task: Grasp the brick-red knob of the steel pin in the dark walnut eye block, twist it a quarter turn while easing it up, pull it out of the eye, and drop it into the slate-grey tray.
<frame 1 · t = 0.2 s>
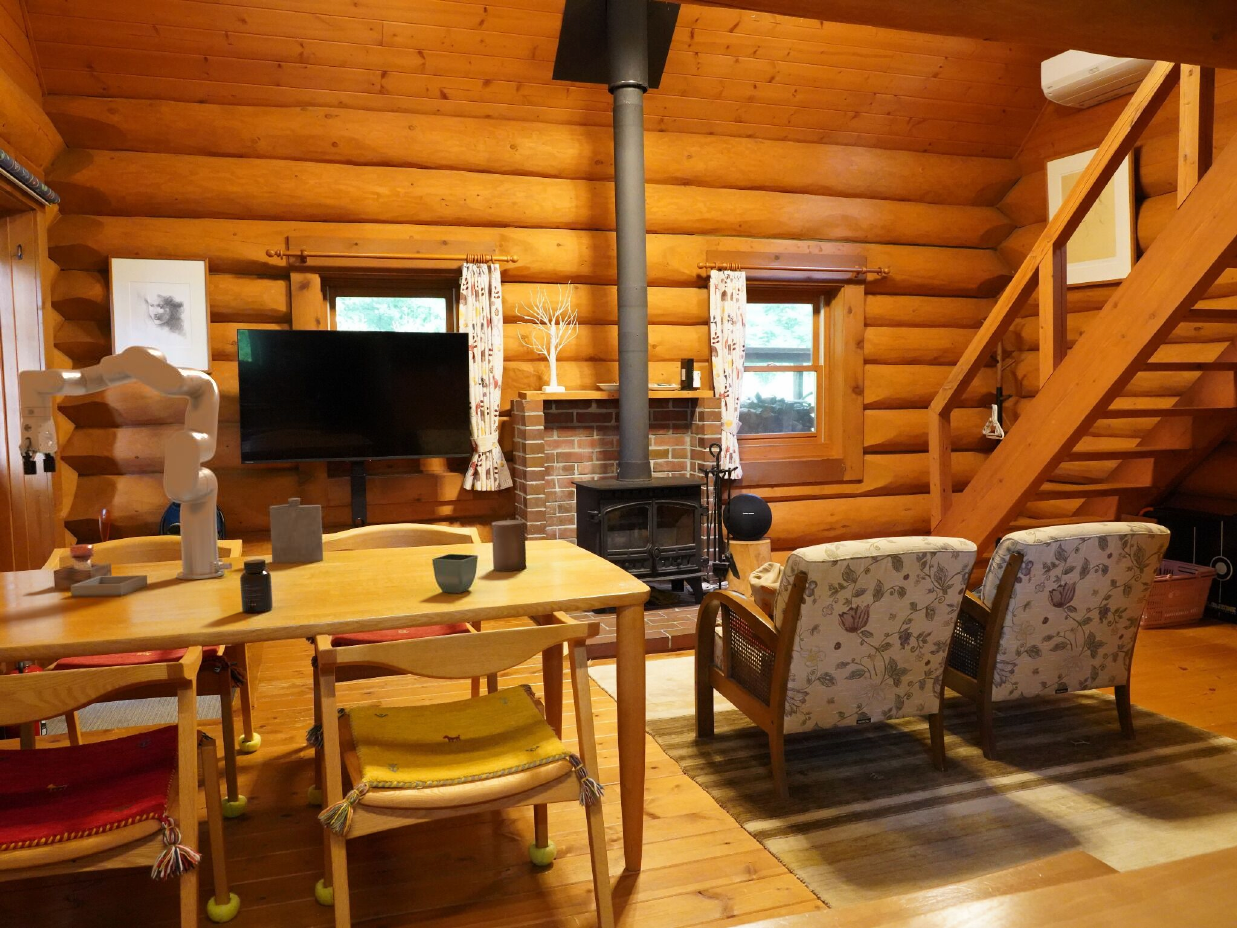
hand: (40, 473, 257), 31 cm above the table, fingers open, 9 cm apart
flower pot: (456, 592, 231), on the table
pin: (82, 565, 249), in the eye block
pillar candle: (509, 569, 262), on the table
tray: (110, 591, 239), on the table
eye block: (83, 584, 249), on the table
hip flask: (297, 562, 281), on the table
supplement bottle: (257, 611, 213), on the table
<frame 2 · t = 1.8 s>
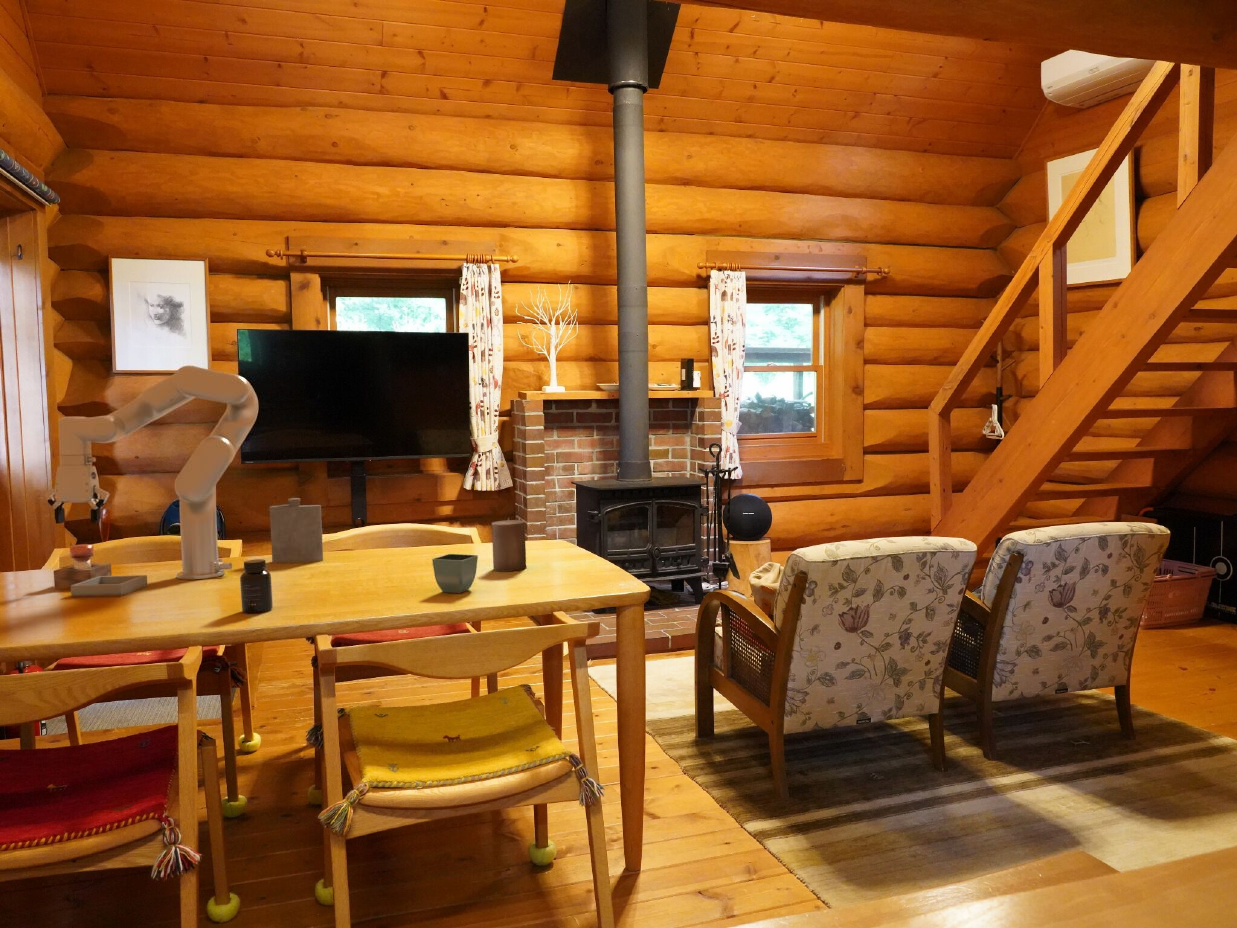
hand: (77, 523, 248), 17 cm above the table, fingers open, 9 cm apart
nothing on the table moved.
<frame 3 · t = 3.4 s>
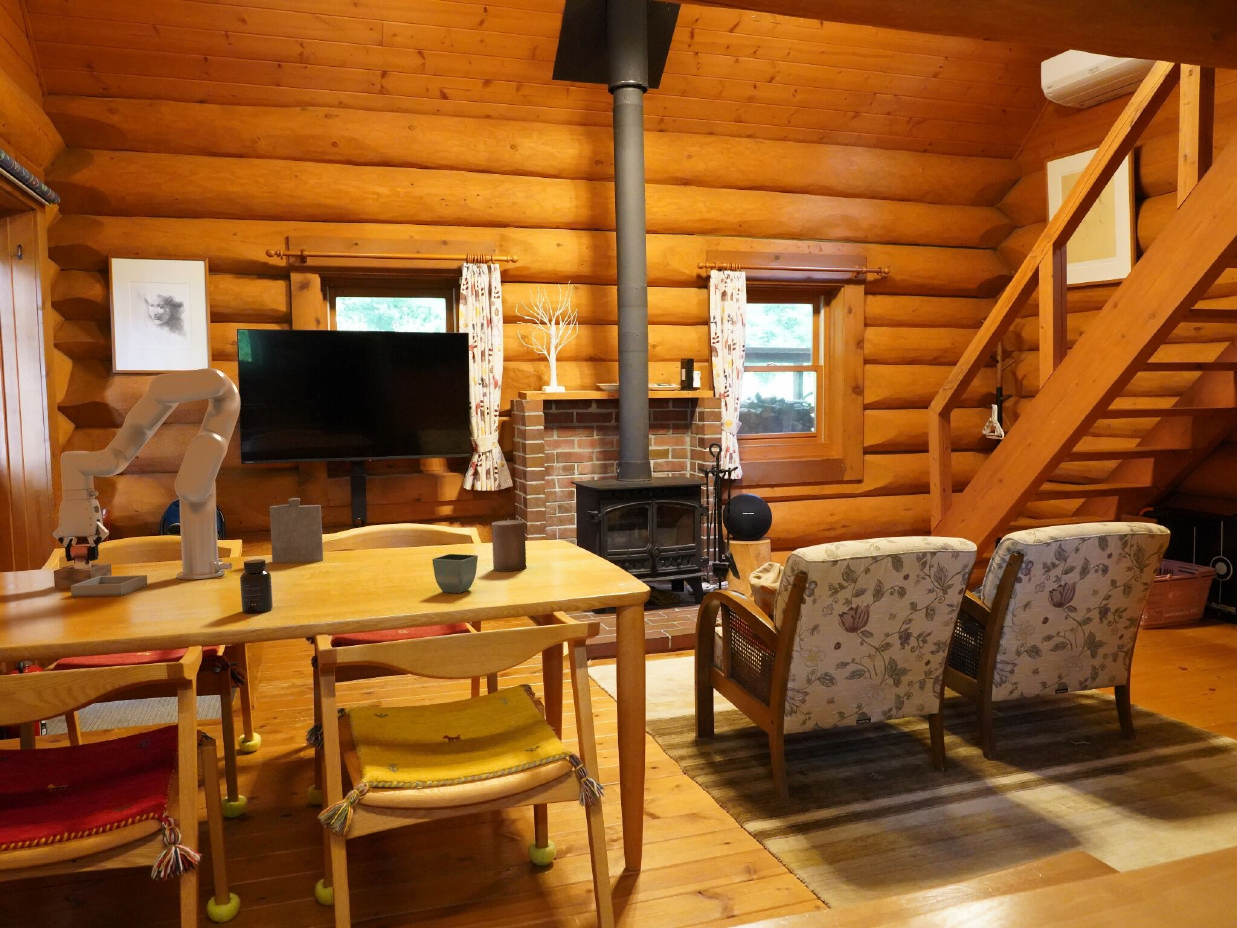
hand: (82, 559, 249), 7 cm above the table, fingers closed on pin, 5 cm apart
pin: (82, 565, 249), in the eye block, touching gripper
everything else where it was.
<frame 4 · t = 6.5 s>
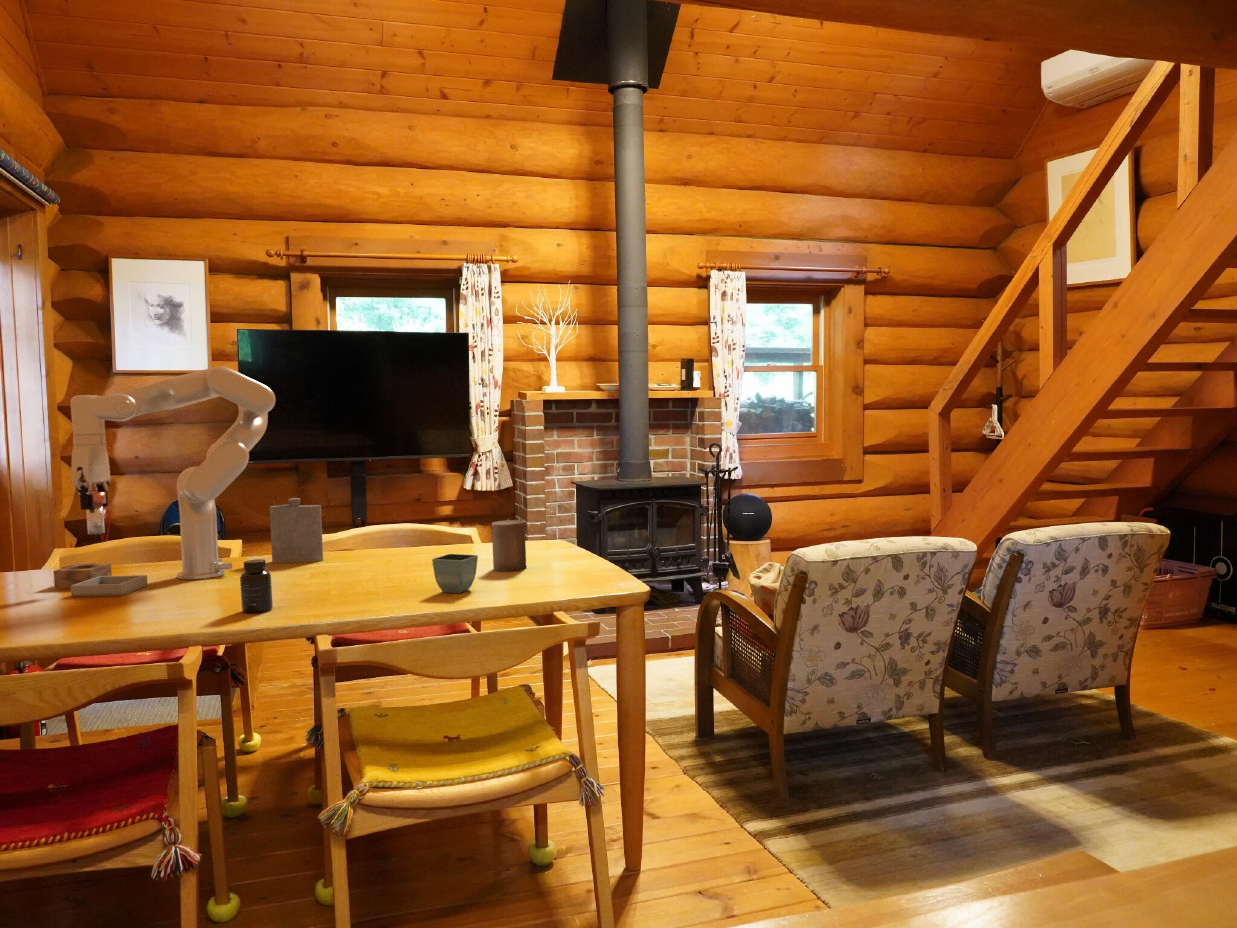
hand: (94, 507, 242), 22 cm above the table, fingers closed on pin, 5 cm apart
pin: (94, 512, 243), point 21 cm above the table, touching gripper
everything else where it was.
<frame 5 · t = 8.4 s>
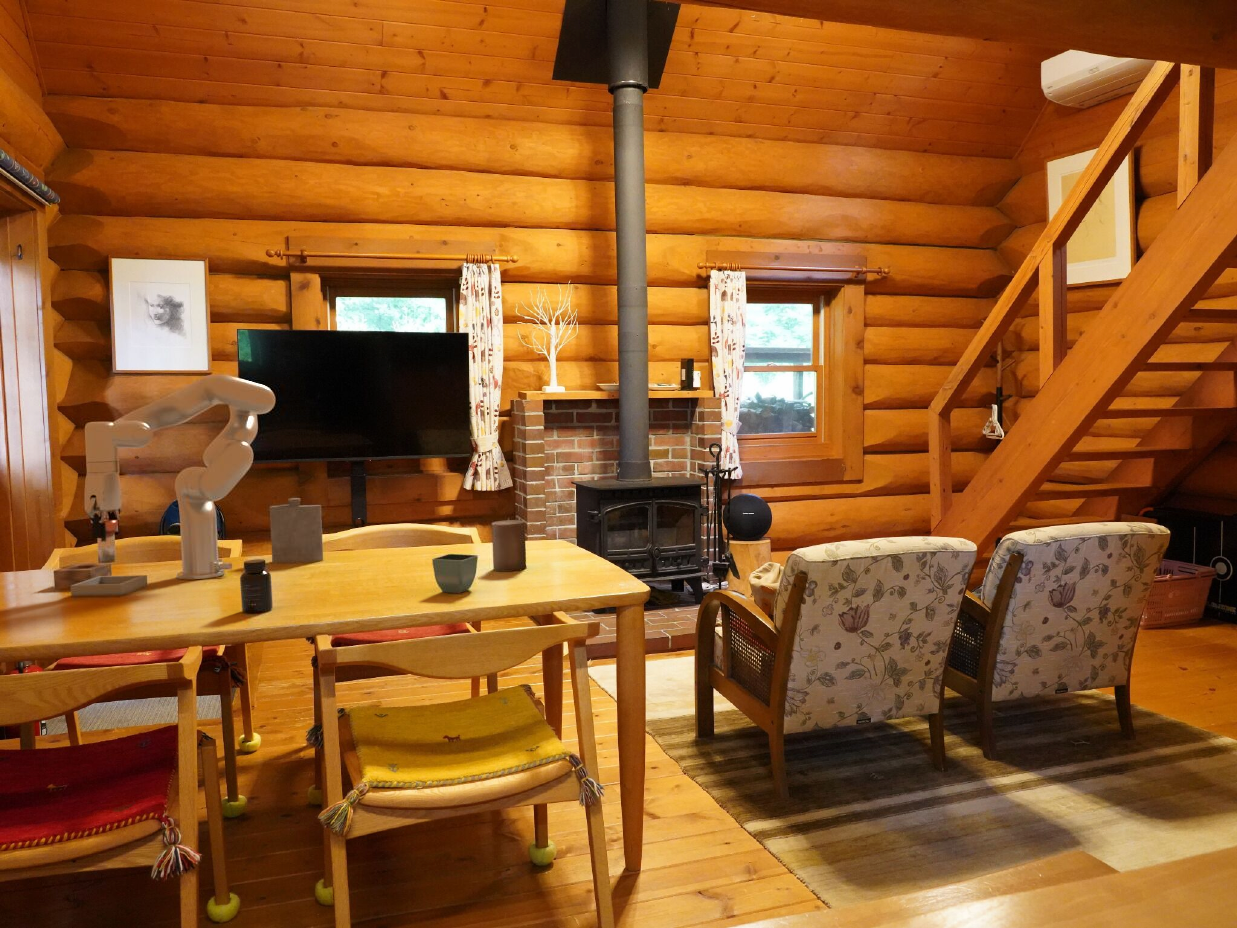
hand: (106, 535, 238), 15 cm above the table, fingers closed on pin, 5 cm apart
pin: (106, 541, 238), point 14 cm above the table, touching gripper
everything else where it was.
when the fingers open (10 cm above the table, at t = 9.7 s): pin drops 3 cm, resting on tray.
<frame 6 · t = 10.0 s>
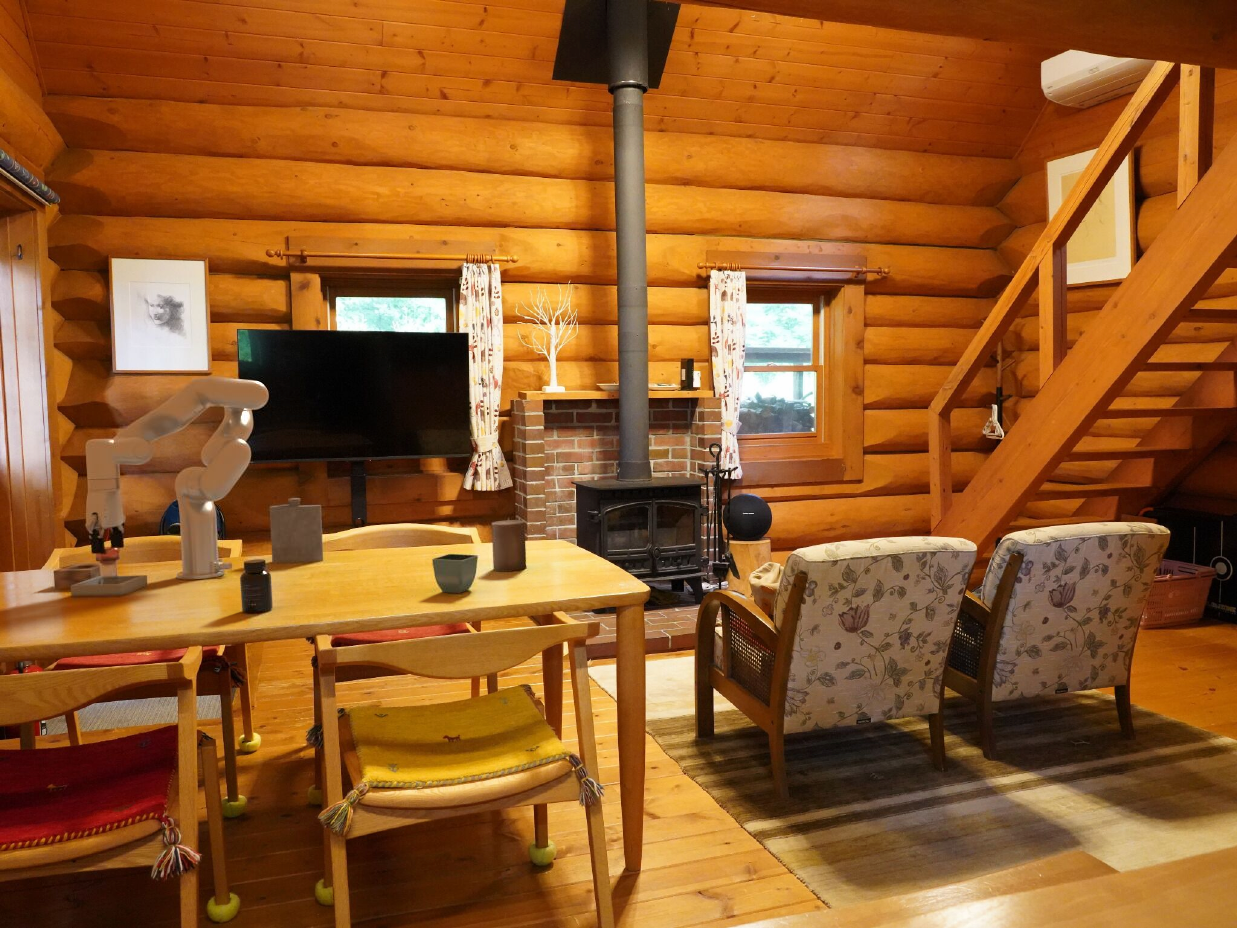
hand: (108, 550, 239), 11 cm above the table, fingers open, 8 cm apart
pin: (108, 568, 239), in the tray, point 6 cm above the table
everything else where it was.
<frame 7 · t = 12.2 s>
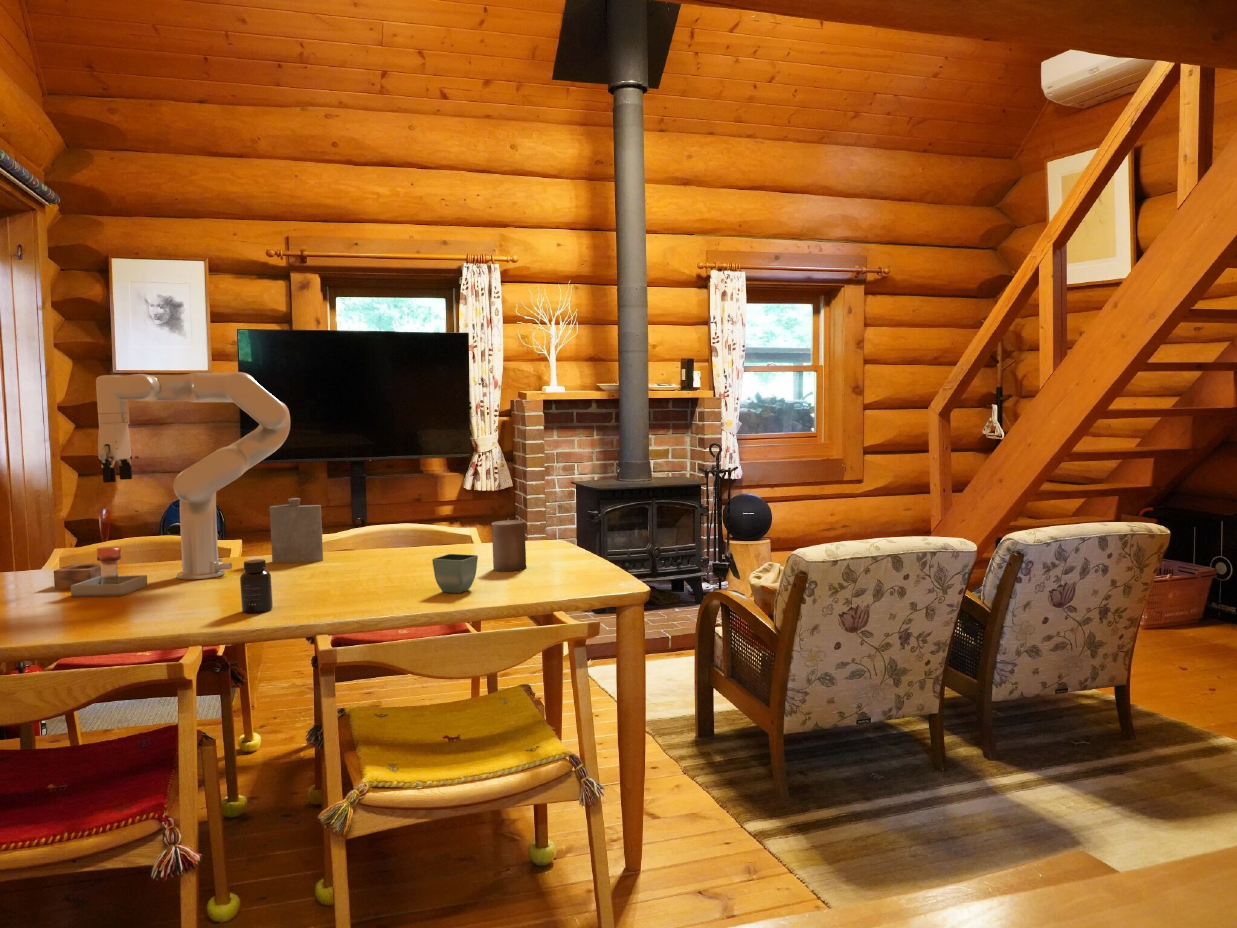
hand: (118, 480, 251), 29 cm above the table, fingers open, 9 cm apart
nothing on the table moved.
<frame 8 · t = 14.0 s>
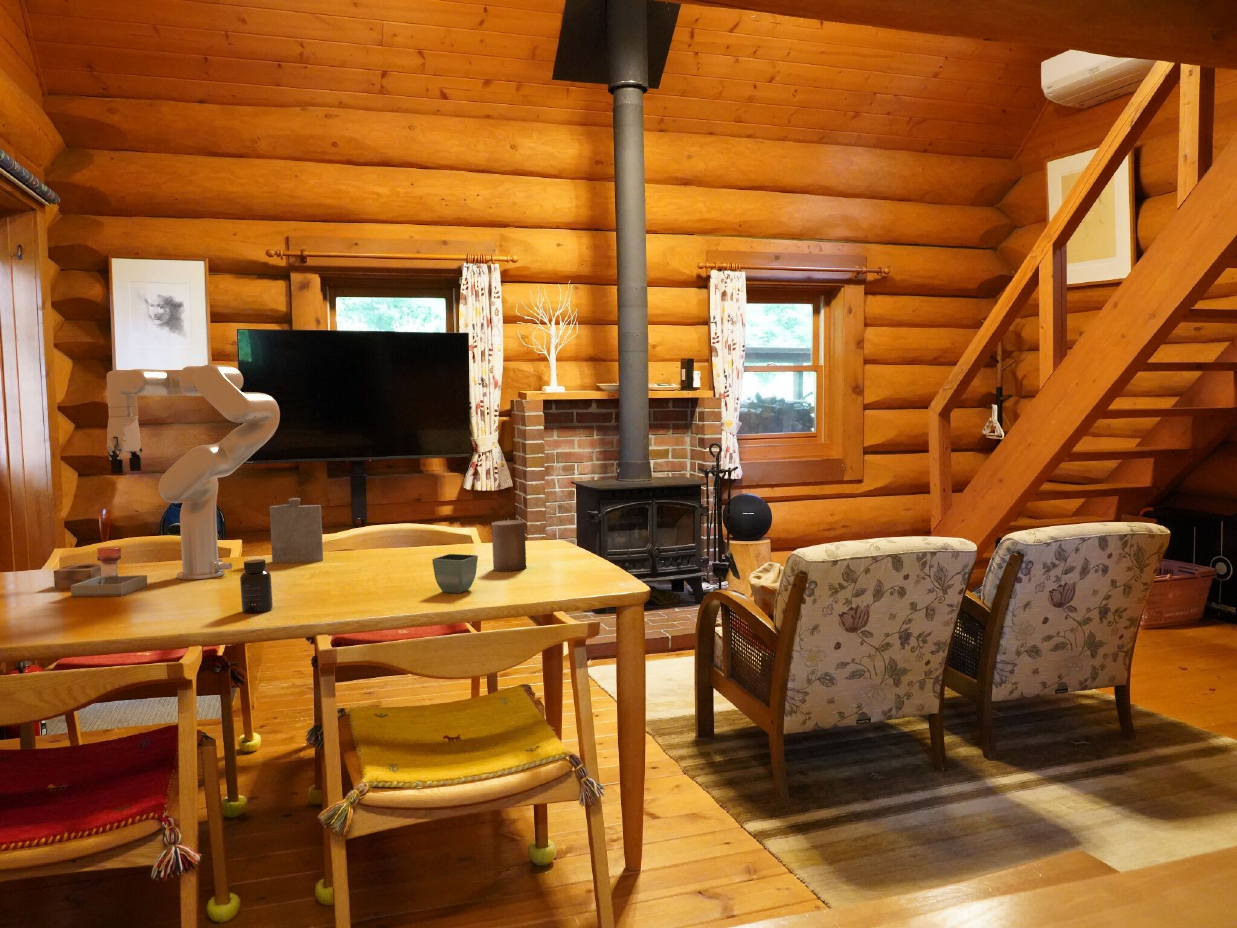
hand: (126, 472, 261), 30 cm above the table, fingers open, 9 cm apart
nothing on the table moved.
at the end: pin inside the target area on the tray (0.2 cm from its centre), point 6.2 cm above the tray's base; pin touching tray; the gripper is holding nothing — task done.
